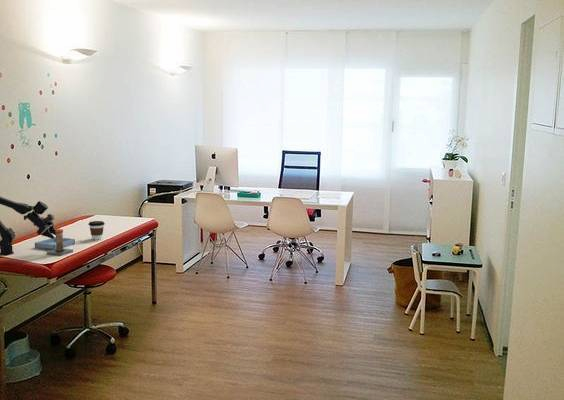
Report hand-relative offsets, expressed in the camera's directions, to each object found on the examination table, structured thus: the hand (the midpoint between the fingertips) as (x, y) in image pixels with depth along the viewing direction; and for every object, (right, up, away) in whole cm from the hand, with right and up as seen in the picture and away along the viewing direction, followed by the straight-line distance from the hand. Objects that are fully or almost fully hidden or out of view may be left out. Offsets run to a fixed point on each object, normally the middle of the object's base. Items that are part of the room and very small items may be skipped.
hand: (55, 236), depth 345 cm
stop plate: (+2, -10, +2) cm, 11 cm away
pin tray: (-9, -8, +20) cm, 23 cm away
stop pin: (+2, -10, +2) cm, 11 cm away
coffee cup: (+11, -5, +44) cm, 45 cm away
